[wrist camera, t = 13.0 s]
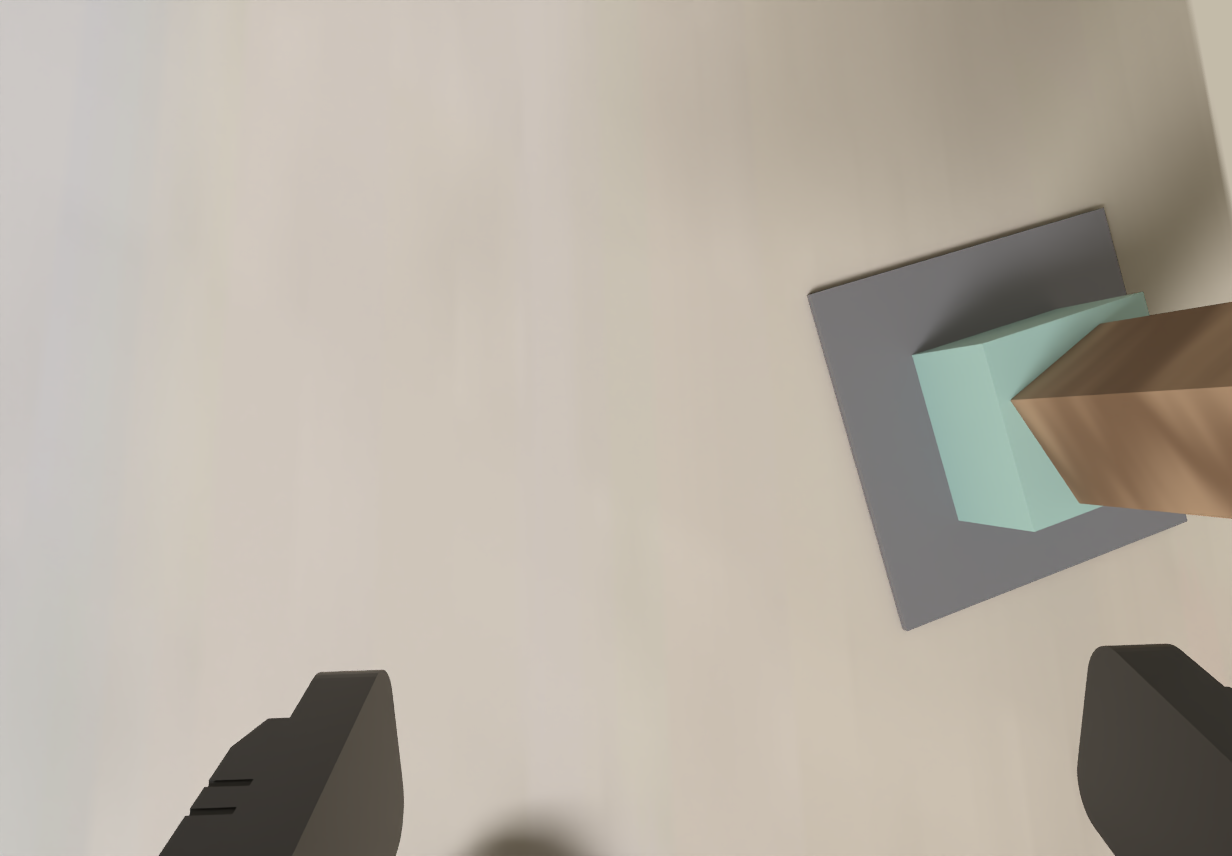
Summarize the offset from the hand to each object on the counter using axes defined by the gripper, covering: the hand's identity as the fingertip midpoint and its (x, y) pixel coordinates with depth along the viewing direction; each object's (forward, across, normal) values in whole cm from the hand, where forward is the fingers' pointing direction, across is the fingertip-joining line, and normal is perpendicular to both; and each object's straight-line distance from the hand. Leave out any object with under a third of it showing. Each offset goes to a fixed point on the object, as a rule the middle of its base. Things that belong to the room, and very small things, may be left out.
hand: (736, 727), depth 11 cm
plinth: (+22, -12, +2) cm, 26 cm away
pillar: (+18, -13, +2) cm, 23 cm away
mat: (+22, -12, +3) cm, 26 cm away
